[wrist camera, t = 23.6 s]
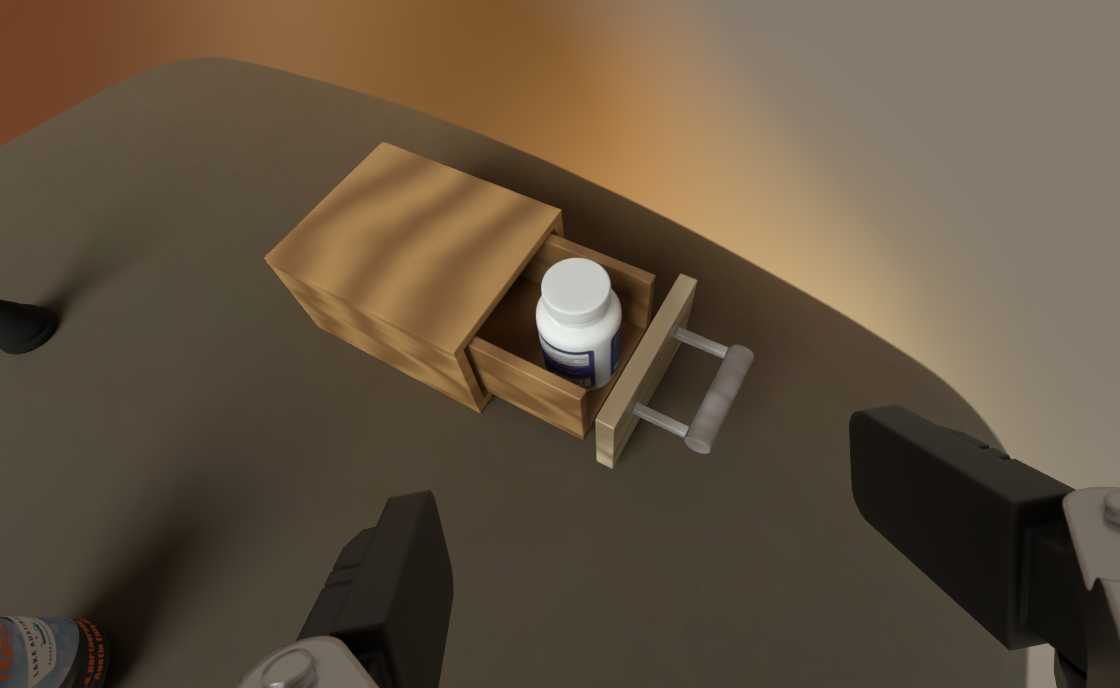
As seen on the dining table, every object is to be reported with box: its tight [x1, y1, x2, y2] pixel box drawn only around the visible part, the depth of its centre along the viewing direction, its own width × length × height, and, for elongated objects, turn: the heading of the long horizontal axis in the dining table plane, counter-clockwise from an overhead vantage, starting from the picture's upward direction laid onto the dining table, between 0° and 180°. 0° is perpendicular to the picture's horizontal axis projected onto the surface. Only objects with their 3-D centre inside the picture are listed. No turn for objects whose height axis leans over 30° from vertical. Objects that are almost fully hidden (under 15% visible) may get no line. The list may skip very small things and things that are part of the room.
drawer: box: [464, 233, 754, 469], centre depth 38 cm, size 20×11×7 cm, turn 60°
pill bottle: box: [536, 258, 622, 392], centre depth 36 cm, size 5×5×9 cm
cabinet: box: [264, 142, 564, 413], centre depth 42 cm, size 16×13×9 cm
